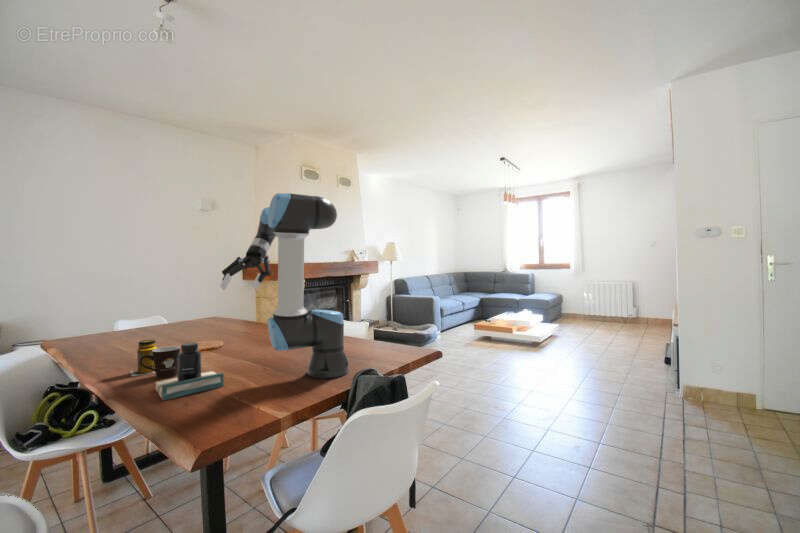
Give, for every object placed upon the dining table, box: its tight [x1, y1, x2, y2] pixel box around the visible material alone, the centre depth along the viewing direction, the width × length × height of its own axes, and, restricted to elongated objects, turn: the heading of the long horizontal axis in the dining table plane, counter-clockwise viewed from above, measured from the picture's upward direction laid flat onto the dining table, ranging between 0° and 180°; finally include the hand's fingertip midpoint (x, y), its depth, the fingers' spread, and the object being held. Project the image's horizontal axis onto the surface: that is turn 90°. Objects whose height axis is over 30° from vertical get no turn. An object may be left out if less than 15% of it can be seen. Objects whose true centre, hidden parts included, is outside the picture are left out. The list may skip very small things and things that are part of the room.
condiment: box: [129, 339, 158, 377], centre depth 133 cm, size 7×8×12 cm
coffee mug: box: [140, 345, 181, 380], centre depth 128 cm, size 12×9×10 cm
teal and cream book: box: [155, 370, 224, 401], centre depth 115 cm, size 13×17×4 cm
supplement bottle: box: [176, 342, 202, 382], centre depth 116 cm, size 7×7×12 cm
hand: (238, 287), depth 137 cm, fingers open, 13 cm apart
